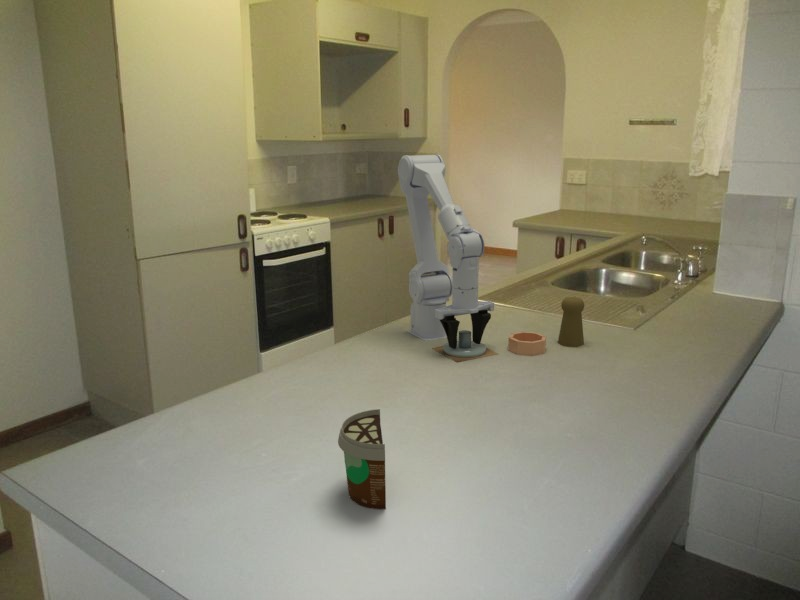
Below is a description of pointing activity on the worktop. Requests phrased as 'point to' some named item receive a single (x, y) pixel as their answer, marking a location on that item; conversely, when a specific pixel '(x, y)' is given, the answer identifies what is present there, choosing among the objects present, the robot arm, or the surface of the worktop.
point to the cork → (571, 322)
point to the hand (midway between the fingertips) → (464, 345)
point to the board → (441, 350)
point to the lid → (465, 347)
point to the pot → (527, 343)
